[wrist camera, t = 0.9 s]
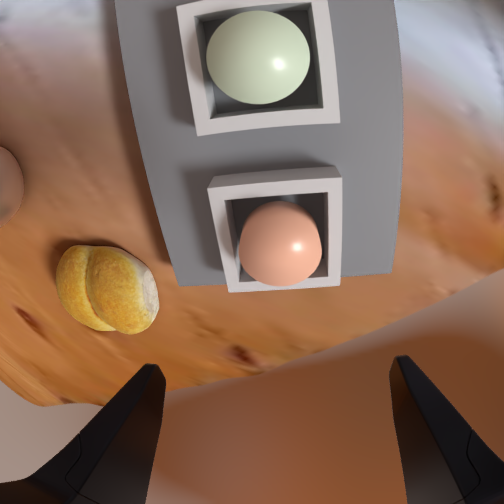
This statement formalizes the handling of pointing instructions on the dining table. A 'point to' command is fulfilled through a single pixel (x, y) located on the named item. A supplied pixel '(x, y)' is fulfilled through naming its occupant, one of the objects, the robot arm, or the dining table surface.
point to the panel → (269, 135)
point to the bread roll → (107, 289)
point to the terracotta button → (280, 244)
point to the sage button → (258, 57)
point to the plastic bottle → (9, 186)
